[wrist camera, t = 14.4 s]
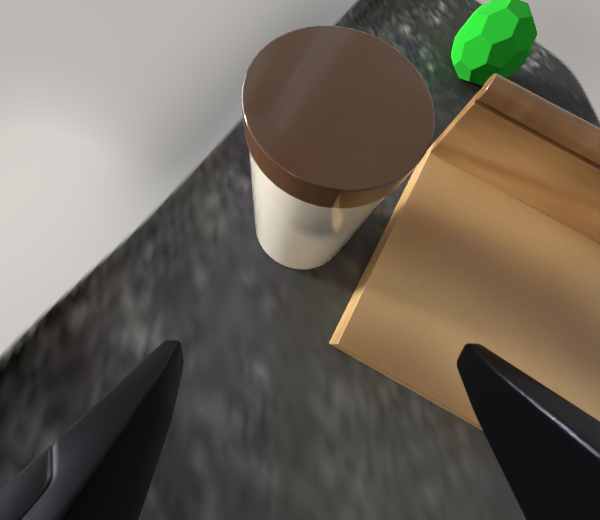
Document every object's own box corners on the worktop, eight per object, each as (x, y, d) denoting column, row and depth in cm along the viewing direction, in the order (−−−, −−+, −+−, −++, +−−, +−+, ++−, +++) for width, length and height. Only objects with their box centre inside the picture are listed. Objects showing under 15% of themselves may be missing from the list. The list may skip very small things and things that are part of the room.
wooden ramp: (551, 469, 16) (760, 565, 9) (328, 343, 17) (373, 347, 10) (601, 256, 20) (775, 214, 13) (419, 158, 21) (498, 66, 14)
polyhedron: (484, 111, 22) (541, 53, 18) (428, 78, 23) (470, 11, 18) (507, 70, 24) (566, 6, 19) (454, 38, 24) (499, -33, 19)
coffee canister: (361, 253, 18) (468, 160, 9) (272, 284, 17) (281, 216, 8) (327, 173, 19) (388, 12, 10) (241, 196, 18) (216, 41, 9)
